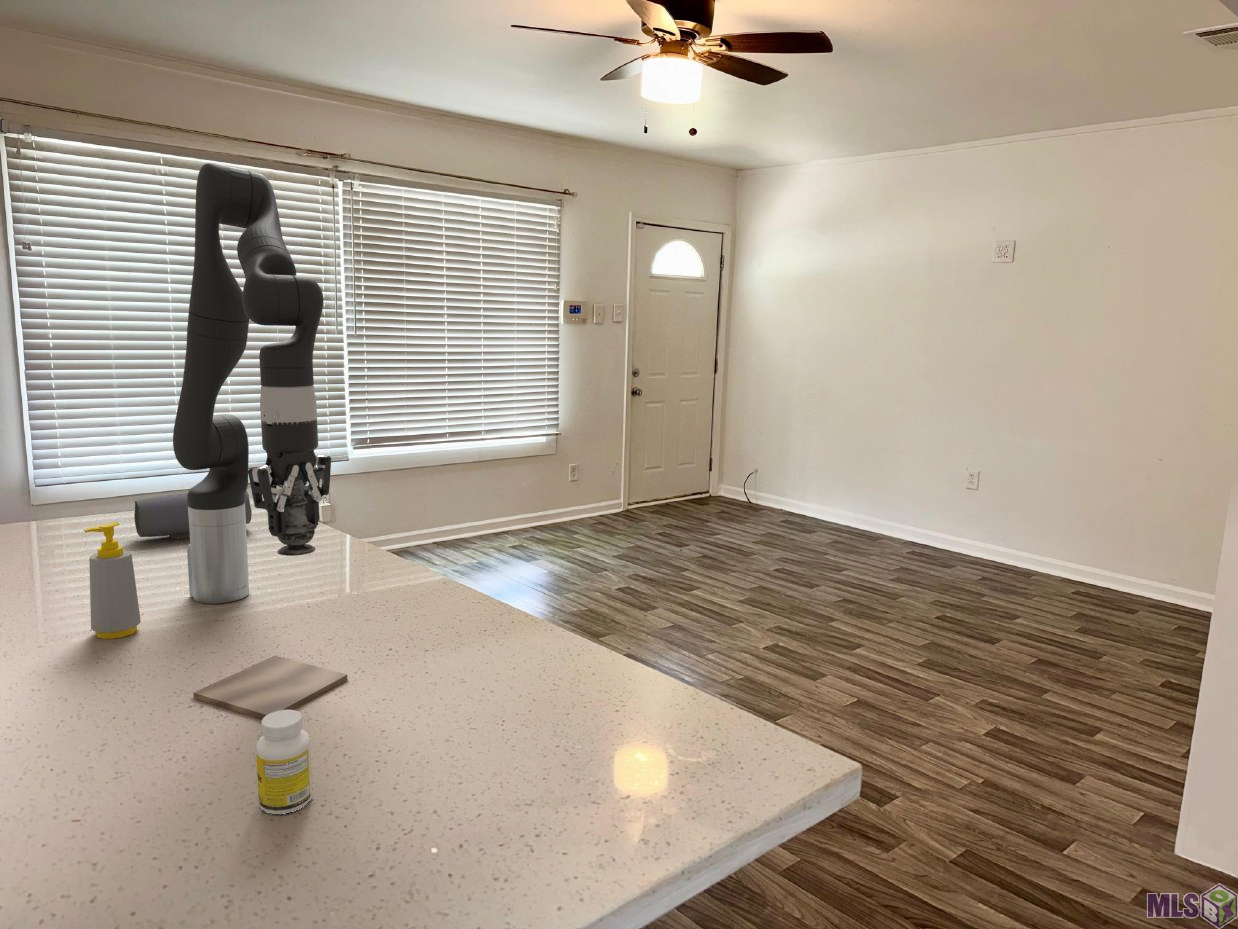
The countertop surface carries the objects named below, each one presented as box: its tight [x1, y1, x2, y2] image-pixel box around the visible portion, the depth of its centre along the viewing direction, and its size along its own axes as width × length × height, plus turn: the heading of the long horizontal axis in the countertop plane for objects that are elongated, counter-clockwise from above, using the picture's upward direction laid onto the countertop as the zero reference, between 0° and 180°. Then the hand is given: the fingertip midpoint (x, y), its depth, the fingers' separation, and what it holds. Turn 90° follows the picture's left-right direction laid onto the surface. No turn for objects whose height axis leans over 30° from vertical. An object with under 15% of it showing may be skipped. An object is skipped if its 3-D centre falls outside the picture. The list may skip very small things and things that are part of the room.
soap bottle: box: [83, 521, 142, 640], centre depth 129 cm, size 7×7×18 cm
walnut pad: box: [193, 655, 349, 720], centre depth 114 cm, size 14×14×1 cm
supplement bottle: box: [255, 709, 314, 815], centre depth 87 cm, size 5×5×10 cm
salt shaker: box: [277, 480, 318, 557], centre depth 119 cm, size 6×6×12 cm
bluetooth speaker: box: [133, 490, 253, 540], centre depth 187 cm, size 23×9×10 cm, turn 130°
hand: (295, 530), depth 120 cm, fingers closed on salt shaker, 6 cm apart
